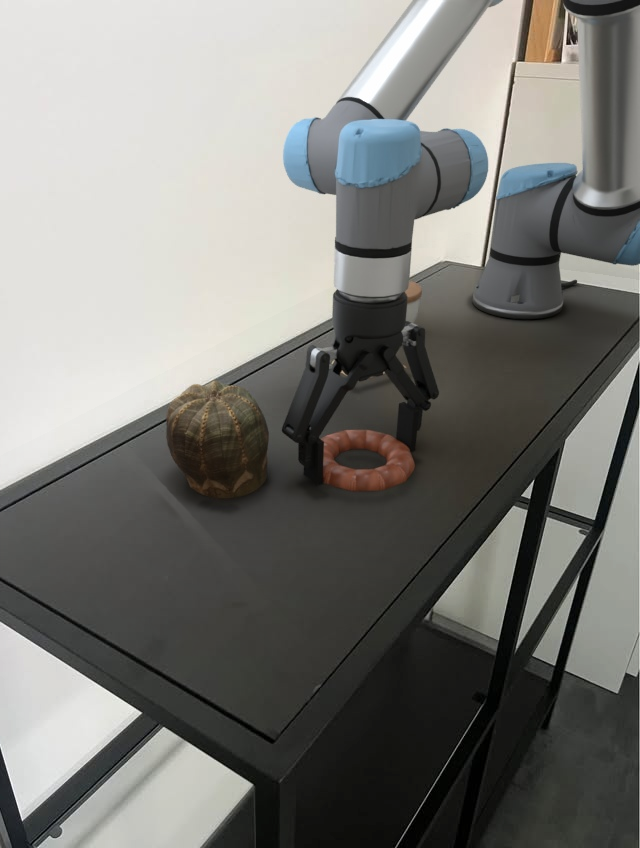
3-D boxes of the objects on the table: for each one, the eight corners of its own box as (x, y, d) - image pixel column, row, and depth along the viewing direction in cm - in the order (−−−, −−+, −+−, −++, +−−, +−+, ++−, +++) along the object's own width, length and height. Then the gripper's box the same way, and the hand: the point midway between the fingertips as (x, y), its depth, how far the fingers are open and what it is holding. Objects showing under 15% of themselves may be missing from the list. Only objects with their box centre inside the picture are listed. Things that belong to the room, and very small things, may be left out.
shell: (179, 461, 91) (170, 368, 85) (271, 462, 91) (269, 369, 84) (164, 514, 82) (153, 414, 75) (267, 515, 82) (265, 415, 75)
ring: (369, 437, 96) (370, 416, 94) (434, 481, 87) (436, 458, 85) (288, 464, 90) (288, 442, 89) (348, 514, 82) (349, 490, 80)
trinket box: (415, 349, 119) (421, 290, 114) (347, 344, 121) (349, 286, 116) (419, 324, 128) (424, 268, 123) (355, 320, 130) (357, 265, 125)
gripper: (437, 261, 85) (420, 430, 97) (245, 302, 74) (251, 487, 86) (486, 278, 80) (462, 455, 91) (287, 326, 69) (287, 520, 80)
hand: (360, 471), depth 89 cm, fingers open, 12 cm apart
